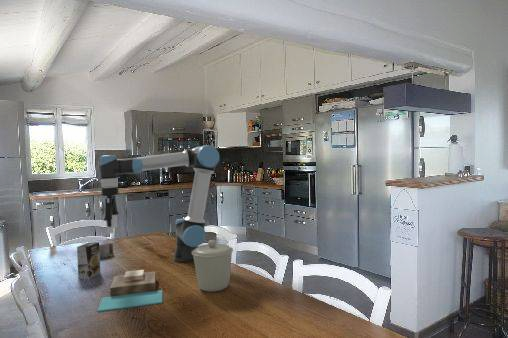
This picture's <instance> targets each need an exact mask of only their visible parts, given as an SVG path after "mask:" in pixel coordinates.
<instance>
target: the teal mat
mask: <svg viewBox="0 0 508 338" xmlns="http://www.w3.org/2000/svg"><path fill="white" fill-rule="evenodd" d="M158 304H163V289H161V290H155V291H151V292H143V293H135V294H128V295H120V296H112V297H111V296H105V297H102V298H101V301H100V303H99V305H98V308H97V309H96V311H97V313H101V312H107V311H113V310H115V311H116V310H121V309H127V308H128V309H129V308H135V307H136V308H137V307H144V306H149V305H150V306H151V305H152V306H153V305H158Z"/></svg>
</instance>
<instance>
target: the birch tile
mask: <svg viewBox="0 0 508 338" xmlns="http://www.w3.org/2000/svg"><path fill="white" fill-rule="evenodd" d="M144 272H145V270H144V269H137V270H127V271H125V273H124V275H125V276H124V282H126V281H134V280H143V278H144Z"/></svg>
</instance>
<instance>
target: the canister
mask: <svg viewBox="0 0 508 338" xmlns="http://www.w3.org/2000/svg"><path fill="white" fill-rule="evenodd" d="M233 252H234V248H233V247H231V246H229V245H227V244H222V243H217V241H216V240H215V239H210V240H209V241H208V242H207V243H206V244H203V245H202V244H201V245H199V246H198V247H197V248H196V249H194V250H193V251H192V255H193V257H194V261H193V263H194V268H195V270H194V271H195V276H196V282H197V285H198V288H199V289H200V290H202V291H204V292H210V293H212V292H214V293H215V292H219V291H222V290H225V289H226V288H227V287H228V286H229V284H230V280H231V279H230V278H231V272H232V271H231V269H232V258H233V257H232V254H233Z"/></svg>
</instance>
